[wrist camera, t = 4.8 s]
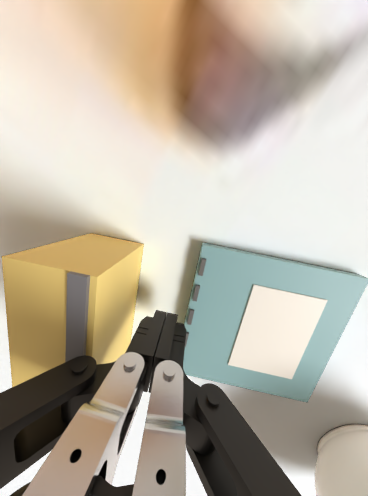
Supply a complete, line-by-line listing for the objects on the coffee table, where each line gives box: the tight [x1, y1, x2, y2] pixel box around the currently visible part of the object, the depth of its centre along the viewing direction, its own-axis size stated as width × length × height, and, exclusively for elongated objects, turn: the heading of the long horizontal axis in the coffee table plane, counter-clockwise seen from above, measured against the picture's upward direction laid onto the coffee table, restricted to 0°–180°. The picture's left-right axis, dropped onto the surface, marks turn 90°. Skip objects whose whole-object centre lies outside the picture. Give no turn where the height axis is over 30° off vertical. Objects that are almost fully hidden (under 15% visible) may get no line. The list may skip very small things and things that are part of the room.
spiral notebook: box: [183, 242, 368, 402], centre depth 13 cm, size 11×11×1 cm
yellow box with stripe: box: [2, 233, 144, 387], centre depth 11 cm, size 9×4×6 cm, turn 169°
